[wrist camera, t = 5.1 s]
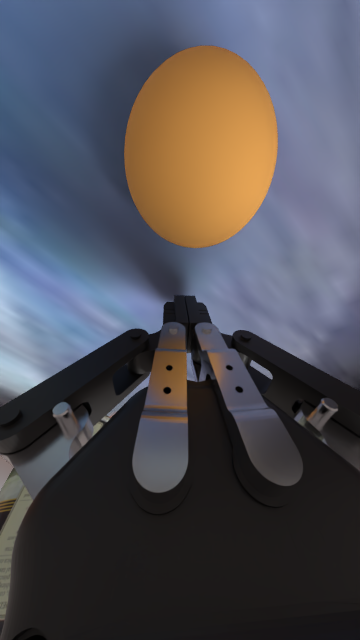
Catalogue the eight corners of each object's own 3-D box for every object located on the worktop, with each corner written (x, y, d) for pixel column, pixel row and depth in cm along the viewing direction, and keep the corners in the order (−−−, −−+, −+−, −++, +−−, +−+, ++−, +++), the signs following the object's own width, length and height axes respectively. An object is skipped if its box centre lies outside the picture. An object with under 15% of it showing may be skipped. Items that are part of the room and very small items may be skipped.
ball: (131, 93, 8) (78, -64, 3) (257, 106, 9) (372, -17, 4) (140, 234, 12) (118, 260, 7) (232, 239, 12) (276, 266, 7)
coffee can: (61, 452, 27) (-22, 648, 15) (21, 413, 21) (-162, 676, 10) (131, 444, 27) (101, 637, 15) (108, 403, 21) (33, 658, 9)
